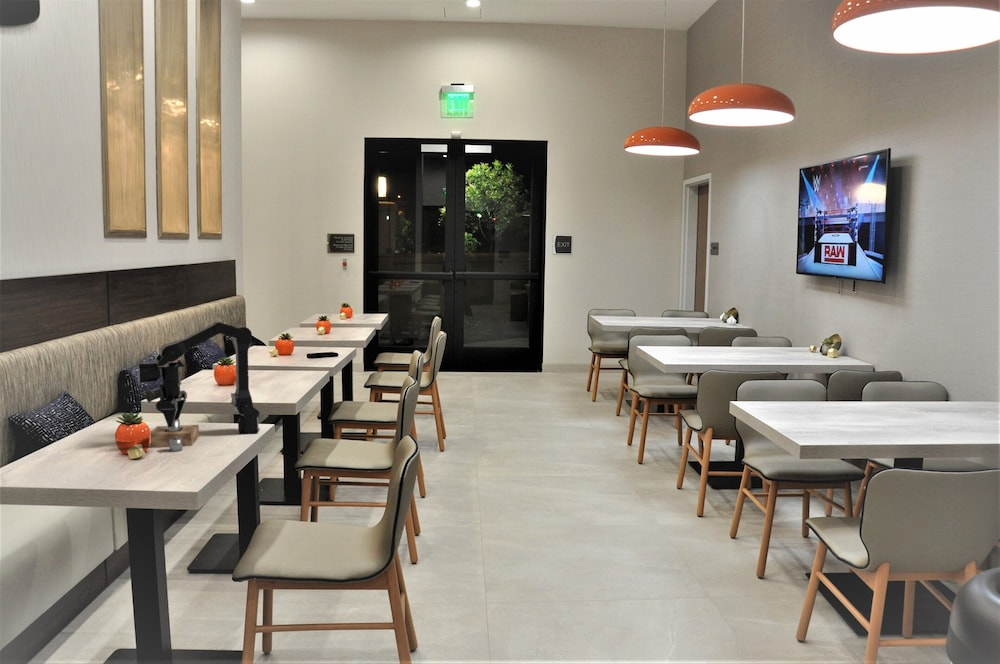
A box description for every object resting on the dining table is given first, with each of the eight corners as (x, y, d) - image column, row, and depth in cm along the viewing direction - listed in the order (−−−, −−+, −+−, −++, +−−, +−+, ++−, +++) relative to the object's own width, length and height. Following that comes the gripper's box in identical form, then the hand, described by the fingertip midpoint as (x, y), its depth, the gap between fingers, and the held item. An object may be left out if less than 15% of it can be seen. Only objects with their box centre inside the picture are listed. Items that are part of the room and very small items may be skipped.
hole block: (199, 436, 277) (198, 424, 277) (191, 445, 266) (191, 433, 265) (158, 438, 275) (157, 426, 274) (148, 447, 263) (148, 435, 263)
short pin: (183, 448, 262) (183, 437, 262) (180, 451, 258) (180, 440, 258) (171, 449, 262) (170, 437, 261) (168, 452, 258) (167, 440, 257)
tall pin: (182, 440, 273) (180, 418, 272) (179, 443, 269) (178, 421, 268) (170, 441, 272) (168, 419, 271) (167, 444, 268) (165, 421, 267)
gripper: (153, 376, 275) (156, 418, 277) (138, 386, 257) (141, 431, 259) (186, 375, 277) (188, 417, 279) (173, 384, 259) (176, 429, 261)
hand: (173, 423), depth 269 cm, fingers open, 9 cm apart
